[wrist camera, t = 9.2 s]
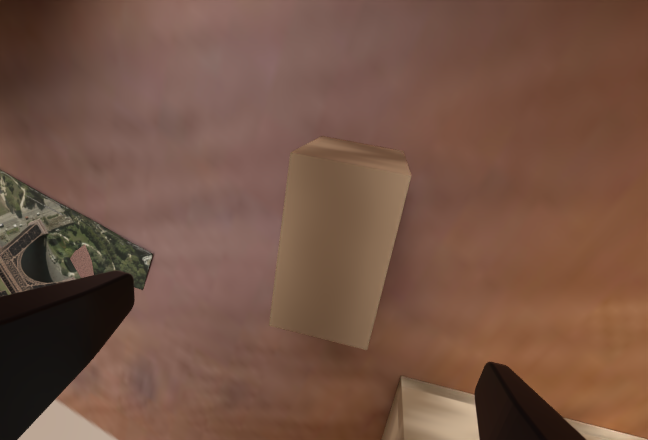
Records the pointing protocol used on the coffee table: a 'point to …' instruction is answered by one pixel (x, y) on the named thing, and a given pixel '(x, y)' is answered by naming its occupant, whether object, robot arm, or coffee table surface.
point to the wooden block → (337, 238)
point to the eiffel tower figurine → (55, 242)
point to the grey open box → (452, 415)
